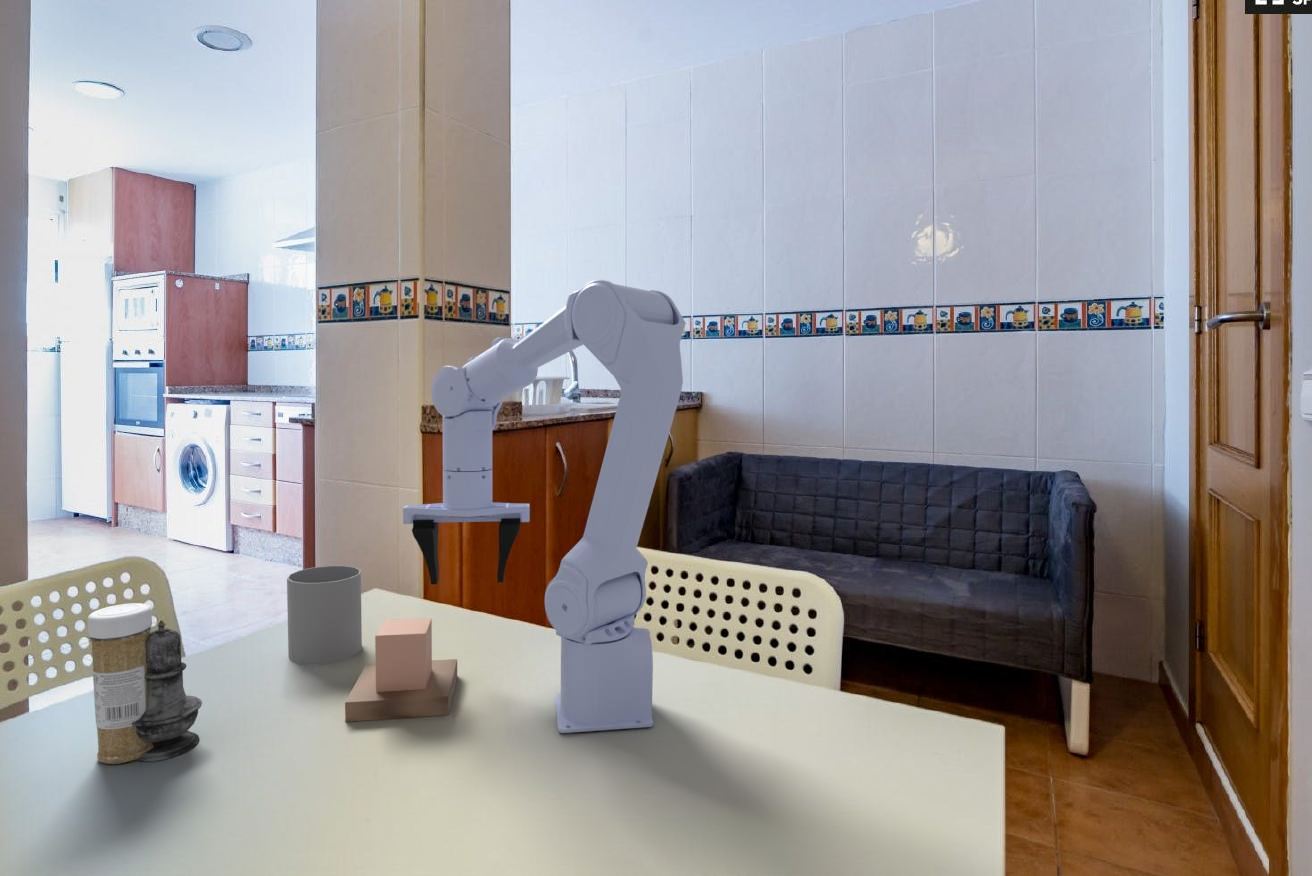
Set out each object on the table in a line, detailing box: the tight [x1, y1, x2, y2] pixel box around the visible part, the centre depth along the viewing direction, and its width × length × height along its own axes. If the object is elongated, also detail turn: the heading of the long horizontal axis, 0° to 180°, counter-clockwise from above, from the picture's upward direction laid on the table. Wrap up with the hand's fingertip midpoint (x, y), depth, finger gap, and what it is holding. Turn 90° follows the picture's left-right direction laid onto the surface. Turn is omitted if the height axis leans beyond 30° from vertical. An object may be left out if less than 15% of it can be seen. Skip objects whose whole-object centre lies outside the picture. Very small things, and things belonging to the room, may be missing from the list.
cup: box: [286, 565, 363, 666], centre depth 89 cm, size 8×8×10 cm
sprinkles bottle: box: [87, 602, 154, 765], centre depth 64 cm, size 5×5×14 cm
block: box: [374, 617, 433, 692], centre depth 76 cm, size 5×5×6 cm
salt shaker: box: [132, 620, 203, 763], centre depth 65 cm, size 6×6×12 cm
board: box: [344, 658, 458, 723], centre depth 77 cm, size 10×10×2 cm
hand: (468, 581), depth 85 cm, fingers open, 7 cm apart
